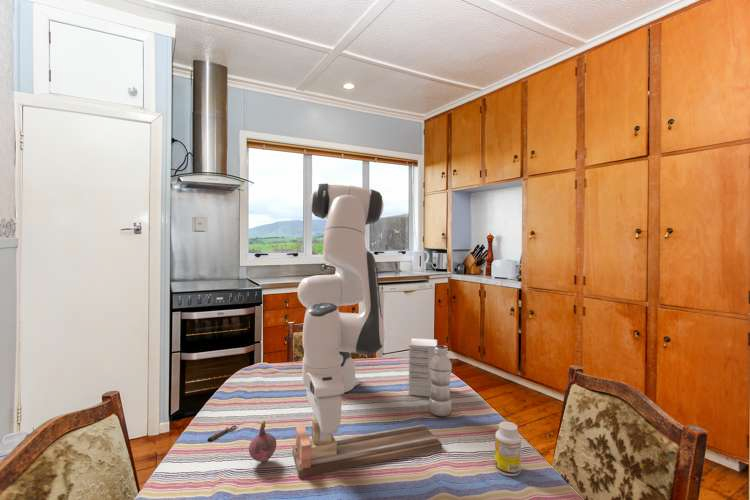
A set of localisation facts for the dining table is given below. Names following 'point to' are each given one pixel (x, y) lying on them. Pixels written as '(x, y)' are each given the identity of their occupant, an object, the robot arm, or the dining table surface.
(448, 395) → the plastic bottle
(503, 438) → the supplement bottle
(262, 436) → the vegetable
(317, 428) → the block
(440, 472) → the dining table surface
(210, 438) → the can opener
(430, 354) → the supplement box
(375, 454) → the rail board
